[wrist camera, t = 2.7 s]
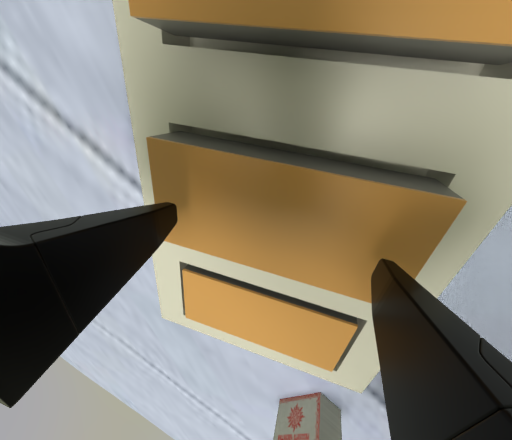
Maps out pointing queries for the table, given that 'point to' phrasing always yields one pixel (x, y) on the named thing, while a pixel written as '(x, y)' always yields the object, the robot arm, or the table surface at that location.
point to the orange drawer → (298, 210)
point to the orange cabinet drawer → (267, 317)
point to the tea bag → (308, 419)
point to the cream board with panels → (324, 146)
